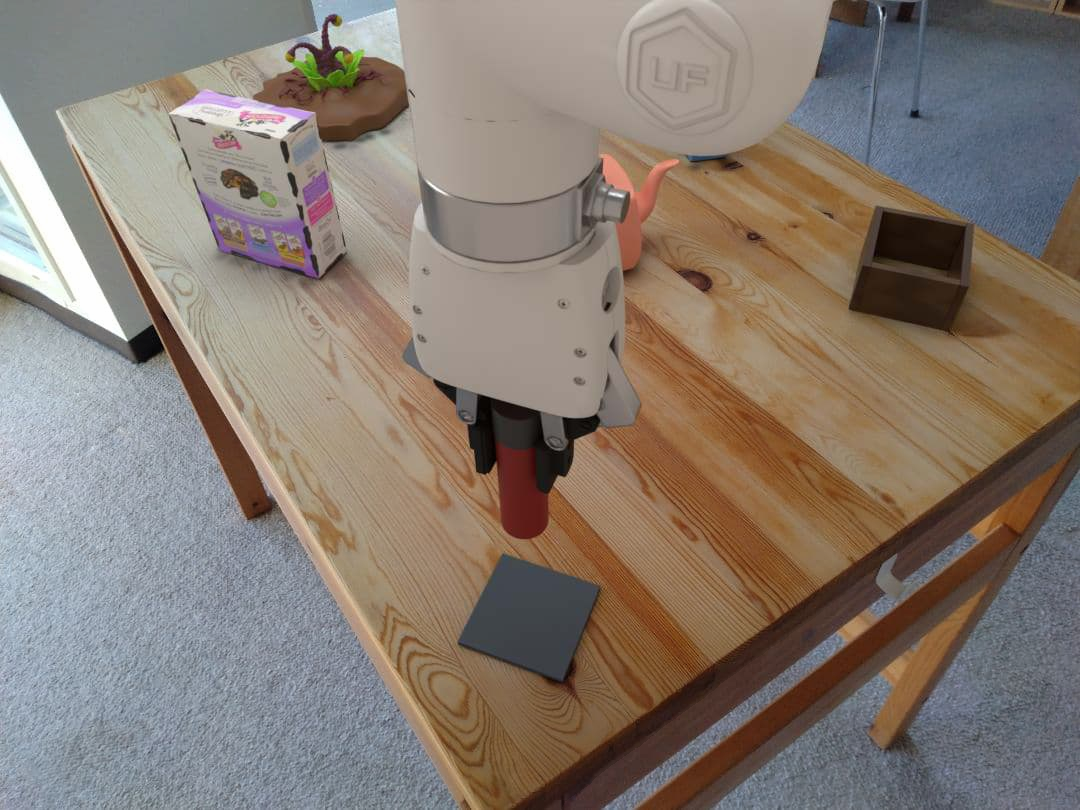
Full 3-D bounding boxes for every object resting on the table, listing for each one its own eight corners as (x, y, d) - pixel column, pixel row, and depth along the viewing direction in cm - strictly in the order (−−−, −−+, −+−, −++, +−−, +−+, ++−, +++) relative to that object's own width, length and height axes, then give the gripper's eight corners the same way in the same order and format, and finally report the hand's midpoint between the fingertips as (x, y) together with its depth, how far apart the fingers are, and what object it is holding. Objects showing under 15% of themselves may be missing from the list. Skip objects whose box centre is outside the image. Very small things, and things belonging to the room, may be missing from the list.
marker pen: (556, 508, 54) (556, 387, 46) (538, 546, 52) (535, 427, 44) (511, 494, 55) (504, 373, 47) (492, 531, 53) (481, 411, 45)
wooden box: (956, 267, 89) (974, 223, 85) (949, 331, 82) (969, 286, 78) (862, 248, 92) (875, 205, 88) (848, 309, 85) (862, 264, 81)
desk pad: (600, 588, 63) (600, 585, 63) (562, 683, 58) (562, 680, 58) (502, 555, 66) (502, 552, 65) (457, 644, 60) (457, 641, 60)
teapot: (501, 233, 95) (495, 149, 87) (653, 208, 98) (661, 125, 90) (525, 296, 87) (521, 210, 80) (689, 267, 90) (701, 181, 82)
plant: (440, 93, 118) (431, 10, 110) (341, 154, 107) (323, 67, 99) (338, 58, 126) (323, -21, 118) (236, 111, 116) (211, 28, 107)
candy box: (350, 251, 93) (318, 110, 81) (318, 282, 89) (281, 139, 78) (249, 222, 97) (205, 84, 85) (215, 250, 94) (164, 111, 82)
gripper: (718, 185, 36) (675, 458, 50) (383, 119, 41) (426, 387, 54) (671, 288, 32) (637, 560, 45) (297, 201, 36) (367, 473, 49)
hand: (522, 463), depth 49 cm, fingers closed on marker pen, 3 cm apart
